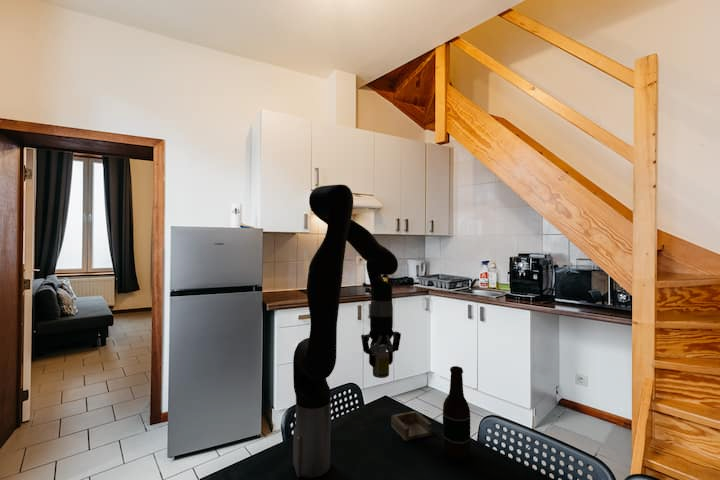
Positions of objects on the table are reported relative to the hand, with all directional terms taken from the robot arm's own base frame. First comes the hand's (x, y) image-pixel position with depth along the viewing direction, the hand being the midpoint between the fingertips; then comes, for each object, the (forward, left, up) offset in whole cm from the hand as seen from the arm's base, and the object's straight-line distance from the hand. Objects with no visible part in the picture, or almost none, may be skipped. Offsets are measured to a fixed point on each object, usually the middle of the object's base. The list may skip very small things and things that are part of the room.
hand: (381, 364), depth 115 cm
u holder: (+8, -7, -20) cm, 22 cm away
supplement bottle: (0, 0, -4) cm, 4 cm away
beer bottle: (+14, -22, -20) cm, 32 cm away
